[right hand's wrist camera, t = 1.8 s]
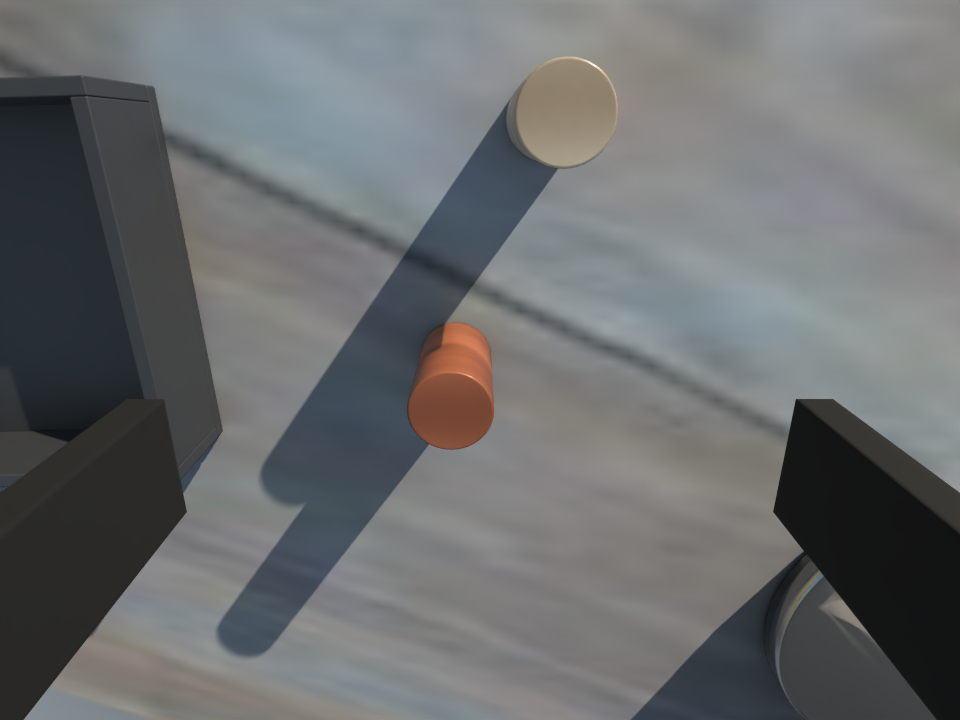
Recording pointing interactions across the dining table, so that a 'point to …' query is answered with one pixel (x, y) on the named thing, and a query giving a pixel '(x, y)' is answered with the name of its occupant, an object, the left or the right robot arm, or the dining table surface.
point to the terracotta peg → (452, 388)
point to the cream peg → (563, 113)
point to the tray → (92, 271)
